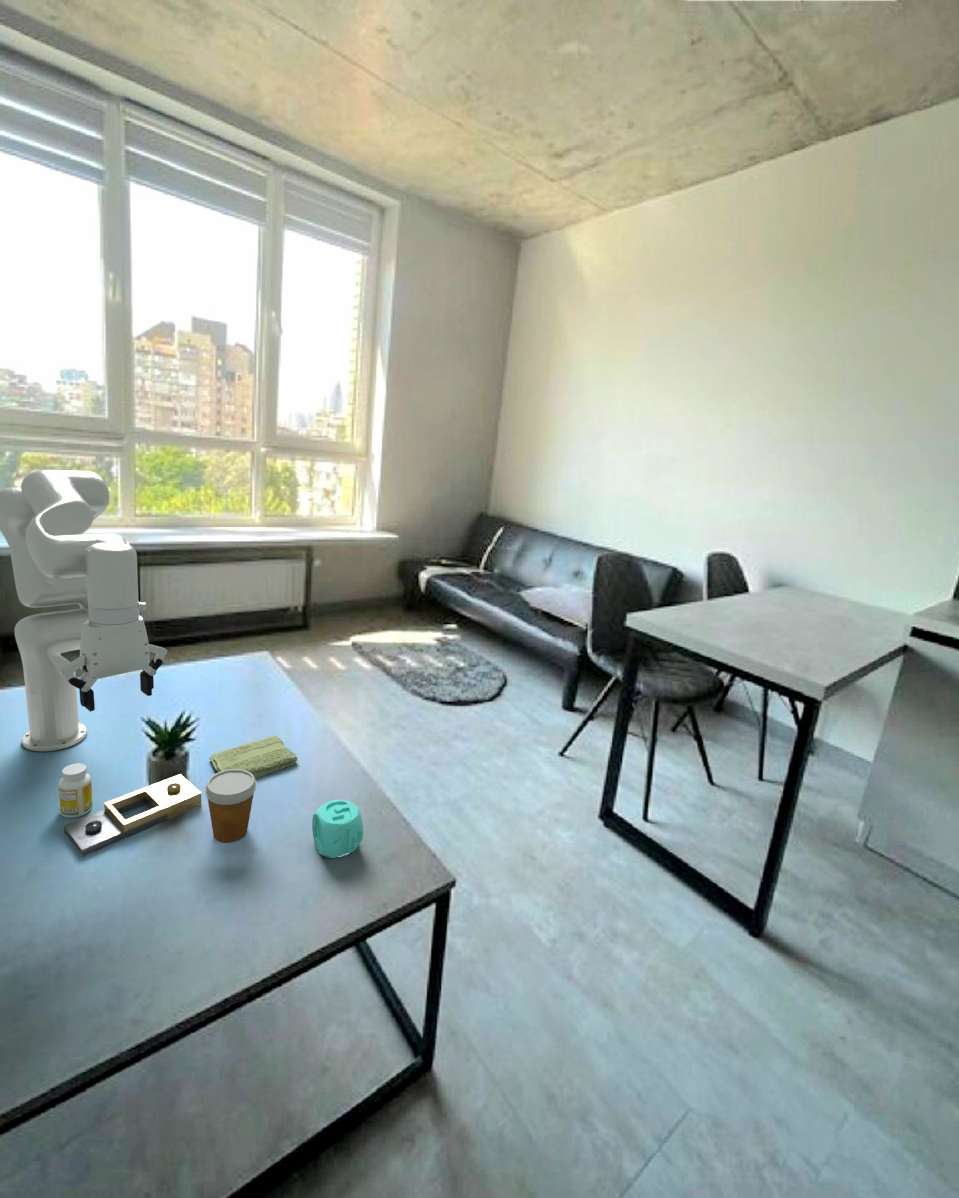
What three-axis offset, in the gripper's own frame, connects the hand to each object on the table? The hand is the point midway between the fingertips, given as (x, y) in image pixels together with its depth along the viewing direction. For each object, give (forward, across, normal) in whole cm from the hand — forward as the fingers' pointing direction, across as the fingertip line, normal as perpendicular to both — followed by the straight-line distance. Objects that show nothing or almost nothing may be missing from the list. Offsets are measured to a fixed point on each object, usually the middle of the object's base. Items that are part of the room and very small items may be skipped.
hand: (118, 700), depth 105 cm
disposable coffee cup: (+28, -13, +15) cm, 34 cm away
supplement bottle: (+28, +4, -11) cm, 30 cm away
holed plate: (+28, -2, -1) cm, 28 cm away
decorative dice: (+28, -26, +32) cm, 50 cm away
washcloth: (+28, -30, -3) cm, 41 cm away
